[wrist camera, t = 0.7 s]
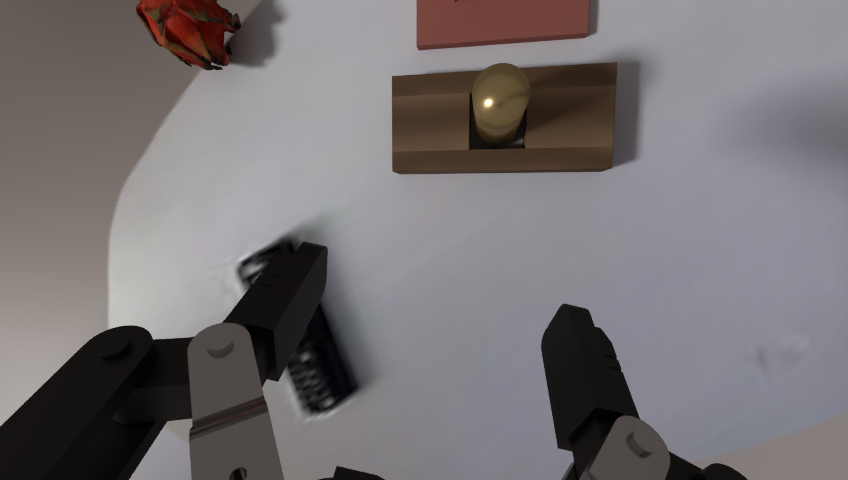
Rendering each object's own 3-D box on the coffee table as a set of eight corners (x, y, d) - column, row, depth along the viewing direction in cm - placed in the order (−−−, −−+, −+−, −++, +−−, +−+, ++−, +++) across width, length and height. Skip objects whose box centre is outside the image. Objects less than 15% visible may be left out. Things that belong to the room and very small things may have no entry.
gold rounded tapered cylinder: (488, 100, 36) (488, 53, 25) (524, 117, 35) (541, 77, 24) (469, 137, 36) (462, 107, 25) (504, 154, 36) (512, 131, 25)
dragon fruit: (206, -17, 41) (258, 81, 43) (123, -5, 38) (183, 102, 40) (196, -81, 34) (260, 42, 36) (91, -72, 30) (167, 64, 32)
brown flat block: (601, 171, 34) (611, 168, 31) (399, 174, 38) (392, 171, 35) (605, 74, 34) (617, 62, 31) (399, 86, 37) (392, 76, 34)
